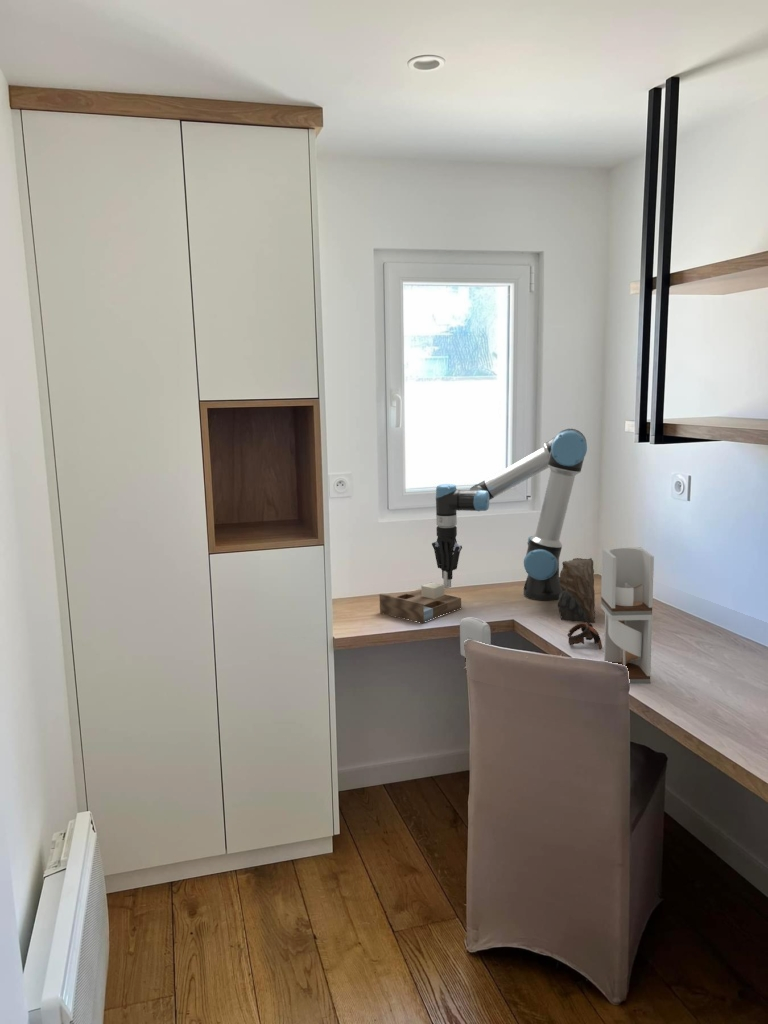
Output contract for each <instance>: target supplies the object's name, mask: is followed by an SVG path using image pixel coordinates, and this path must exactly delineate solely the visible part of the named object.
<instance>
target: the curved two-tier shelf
mask: <svg viewBox="0 0 768 1024" xmlns="http://www.w3.org/2000/svg"><path fill="white" fill-rule="evenodd" d="M654 561H655V556H654V555H652V554H651V553H650V552H649V551H647V550H645V549H644V548H643V547H642V546H640V547H637V546H636V547H633V546H632V547H604V548H603V547H602V548H601V581H600V582H601V587H600V588H601V592H600V593H601V594H600V595H601V596H600V609H601V610H602V611H603V612H604V651H603V652H604V655H603V656H604V659H603V661H608V662H612V663H618V664H622V665H625V666H627V668H628V671H629V679H630V683H629V684H651V674H652V673H651V671H652V670H651V668H652V666H651V665H652V637H653V636H652V634H653V631H652V630H653V604H654V603H653V601H654V599H653V597H654V595H653V594H654V566H655V565H654V564H655V563H654Z"/></svg>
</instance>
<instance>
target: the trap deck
mask: <svg viewBox="0 0 768 1024" xmlns="http://www.w3.org/2000/svg"><path fill="white" fill-rule="evenodd" d="M378 597H379V613H380V614H382V613H384V614H383V615H386V614H387V616H390V615H392V617H394V616H396V617H395V618H398V617H400V618H399V619H402V618H405V619H404V620H406V619H409V620H408V621H410V620H412V621H411V622H414V621H417V622H416V623H418V622H420V623H419V624H424V623H423V622H425V621H428V620H430V619H433V618H435V617H438V616H440V615H443V614H446V613H449V612H451V613H453V612H452V611H454V610H456V611H458V610H457V609H459V610H461V609H462V598H461V597H459V596H458V597H457V596H455V595H454V596H453V595H448V594H445V593H444V596H441V597H438V598H436V599H432V598H427V597H423V596H422V595H421V588H418V589H415V590H413V591H409V592H407V593H404V594H401V595H397V596H394V595H390V594H385V593H379V596H378ZM460 608H461V609H460ZM454 612H455V611H454ZM449 614H450V613H449ZM446 615H447V614H446ZM443 616H444V615H443ZM438 618H439V617H438ZM435 619H436V618H435ZM433 620H434V619H433ZM430 621H431V620H430ZM428 622H429V621H428ZM425 623H426V622H425Z"/></svg>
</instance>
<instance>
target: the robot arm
mask: <svg viewBox="0 0 768 1024" xmlns="http://www.w3.org/2000/svg"><path fill="white" fill-rule="evenodd" d="M587 444H588V443H587V439H586V437H585V434H583V433H582V432H581V431H580V430H578V429H575V428H566V429H562V430H561V431H559V432H558V434H556V435H555V436H554V437H552V438H551V439H549V440H548V441H545V442H544V444H543V447H541V448H539V449H538V450H537V449H536V450H535V451H534V452H532V453H530V454H528V455H527V456H524V457H523V458H521V459H519V460H518V461H516V462H514V463H513V464H511V465H509V466H508V467H505V468H503V469H502V470H501V471H499V472H496V473H495V474H493V475H491V476H490V477H488V478H486V479H485V480H483V481H481V482H479V483H477V484H474V485H472V486H471V488H470V489H468V490H467V489H463V490H460V489H457V485H456V484H452V483H443V484H438V485H437V486H436V488H435V510H436V511H435V512H436V514H435V515H436V518H435V521H436V523H435V524H436V537H437V538H436V540H435V542H432V543H431V546H432V547H433V550H434V551H433V552H434V556H435V561H436V566H437V568H438V569H441V575H442V576H441V578H442V579H443V585H444V589H449V588H452V579H453V571H455V570H457V569H458V565H459V559H460V556H461V555H460V554H461V550H462V549H463V546H462V545H459V544H458V543H457V542H458V541H457V536H458V534H457V533H458V529H457V528H458V527H457V524H458V521H457V519H458V518H457V511H465V512H466V511H467V512H468V511H470V512H474V511H475V512H482V511H483V512H485V511H488V510H489V509H490V501H491V500H493V499H494V498H496V497H497V496H499V495H502V494H503V493H505V492H507V491H508V490H510V489H512V488H514V487H516V486H517V485H520V484H521V483H523V482H525V481H527V480H528V479H531V478H532V477H533V476H534V477H535V476H536V475H538V474H539V473H541V472H543V471H545V470H547V469H548V468H549V470H550V471H549V472H550V473H549V477H548V480H547V485H546V489H545V492H544V497H543V502H542V505H541V508H540V509H541V510H540V514H539V518H538V523H537V526H536V531H535V534H533V535H531V536H529V537H528V538H527V550H526V553H525V554H526V555H525V556H524V559H523V567H524V570H525V573H527V577H526V580H525V583H524V586H523V591H522V592H523V593H522V594H523V596H524V597H525V598H528V599H531V600H538V601H539V600H540V601H552V600H559V594H560V593H561V591H562V588H561V586H560V582H559V578H560V556H561V552H562V548H563V544H562V542H561V541H560V538H561V534H562V530H563V527H564V522H565V518H566V513H567V510H568V506H569V502H570V498H571V494H572V489H573V486H574V482H575V478H576V476H577V475H578V474H580V473H581V472H582V468H583V463H584V461H585V457H586V455H587V452H588V445H587Z"/></svg>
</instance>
